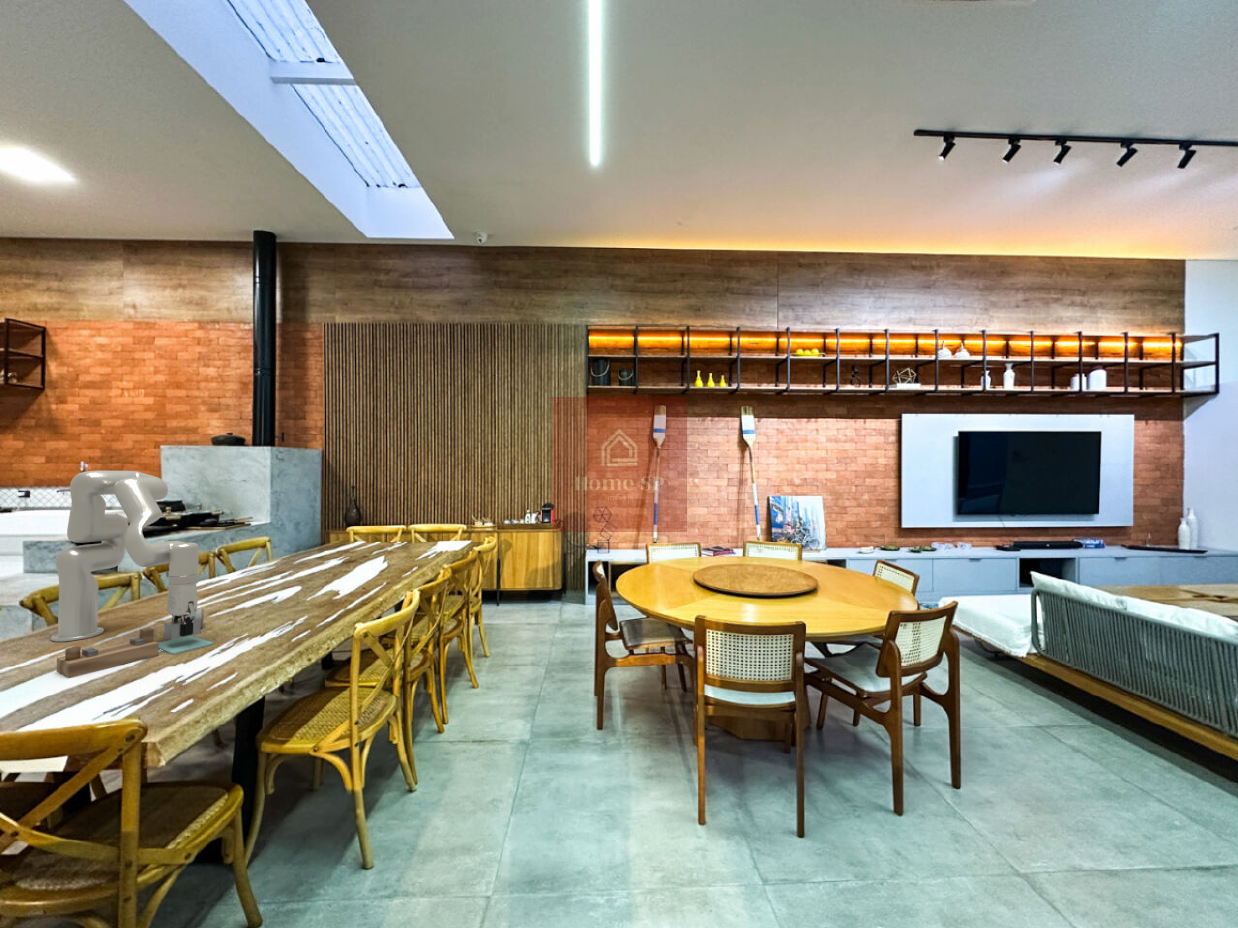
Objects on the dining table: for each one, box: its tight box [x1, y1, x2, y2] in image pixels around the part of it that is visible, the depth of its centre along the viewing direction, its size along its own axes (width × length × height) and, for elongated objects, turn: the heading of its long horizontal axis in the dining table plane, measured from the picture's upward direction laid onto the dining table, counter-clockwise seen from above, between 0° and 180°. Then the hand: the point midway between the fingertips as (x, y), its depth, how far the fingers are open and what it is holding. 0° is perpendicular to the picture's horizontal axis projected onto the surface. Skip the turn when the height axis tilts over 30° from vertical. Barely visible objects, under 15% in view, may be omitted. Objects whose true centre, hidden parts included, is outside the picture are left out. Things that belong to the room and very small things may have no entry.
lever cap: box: [163, 616, 202, 640], centre depth 170 cm, size 5×8×6 cm, turn 153°
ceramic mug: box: [184, 607, 205, 628], centre depth 188 cm, size 11×8×8 cm
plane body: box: [56, 627, 159, 679], centre depth 154 cm, size 9×20×8 cm, turn 153°
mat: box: [158, 635, 214, 656], centre depth 170 cm, size 16×11×1 cm
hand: (182, 633), depth 170 cm, fingers closed on lever cap, 5 cm apart
